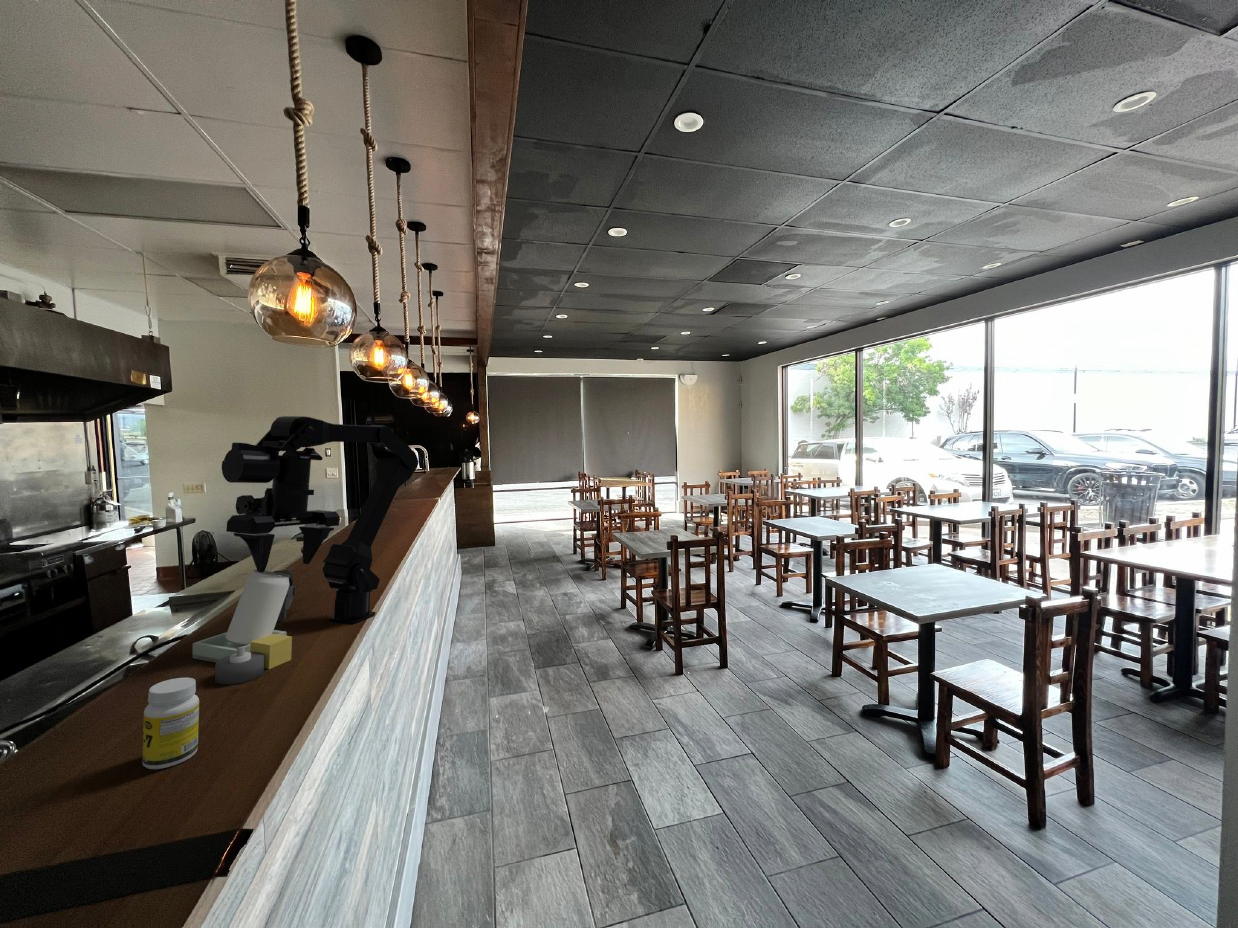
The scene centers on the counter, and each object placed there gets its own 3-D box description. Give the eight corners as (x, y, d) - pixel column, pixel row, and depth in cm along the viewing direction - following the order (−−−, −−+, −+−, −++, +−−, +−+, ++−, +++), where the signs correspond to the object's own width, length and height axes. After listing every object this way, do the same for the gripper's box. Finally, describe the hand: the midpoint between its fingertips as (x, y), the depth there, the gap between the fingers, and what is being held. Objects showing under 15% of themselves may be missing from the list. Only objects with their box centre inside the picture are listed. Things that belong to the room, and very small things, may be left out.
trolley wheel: (243, 665, 80) (244, 638, 80) (272, 670, 79) (273, 643, 79) (204, 680, 75) (205, 652, 75) (235, 686, 73) (236, 657, 73)
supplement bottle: (141, 755, 56) (144, 683, 56) (195, 740, 60) (198, 671, 60) (142, 776, 53) (144, 698, 53) (199, 759, 56) (202, 685, 56)
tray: (245, 639, 91) (246, 625, 91) (286, 645, 89) (286, 631, 89) (192, 658, 82) (192, 643, 82) (235, 665, 80) (236, 650, 80)
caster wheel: (269, 612, 109) (246, 628, 95) (272, 568, 110) (249, 577, 96) (299, 610, 111) (280, 626, 97) (301, 567, 112) (283, 576, 98)
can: (245, 647, 82) (272, 575, 85) (214, 638, 84) (242, 568, 87) (277, 644, 89) (301, 577, 92) (247, 636, 90) (272, 570, 93)
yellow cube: (272, 656, 84) (273, 633, 84) (291, 659, 83) (291, 636, 83) (249, 666, 81) (250, 641, 81) (269, 669, 80) (269, 644, 80)
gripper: (299, 481, 103) (293, 556, 102) (204, 480, 84) (197, 572, 84) (344, 484, 100) (338, 561, 99) (256, 484, 82) (249, 578, 81)
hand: (284, 567), depth 91 cm, fingers open, 9 cm apart
